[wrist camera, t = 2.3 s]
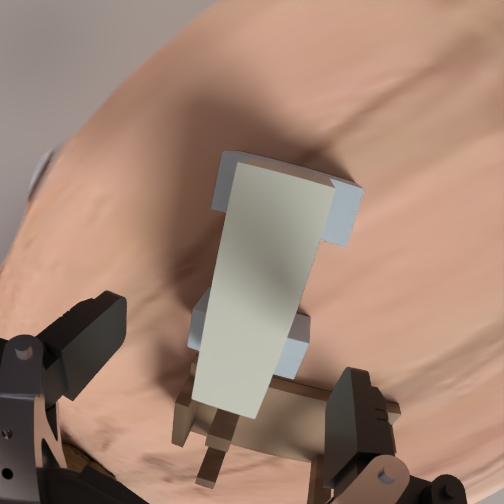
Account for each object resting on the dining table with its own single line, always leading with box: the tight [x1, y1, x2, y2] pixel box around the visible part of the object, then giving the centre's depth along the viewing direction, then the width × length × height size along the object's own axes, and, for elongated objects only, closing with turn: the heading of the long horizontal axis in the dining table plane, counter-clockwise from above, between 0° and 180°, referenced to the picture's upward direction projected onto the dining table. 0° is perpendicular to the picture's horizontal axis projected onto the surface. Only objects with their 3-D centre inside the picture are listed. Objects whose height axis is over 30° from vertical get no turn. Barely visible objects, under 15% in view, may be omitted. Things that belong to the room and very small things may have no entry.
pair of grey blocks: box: [187, 151, 364, 380], centre depth 17 cm, size 7×12×3 cm, turn 167°
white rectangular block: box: [192, 159, 336, 419], centre depth 14 cm, size 4×12×4 cm, turn 167°
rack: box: [172, 354, 401, 504], centre depth 20 cm, size 17×9×7 cm, turn 77°
